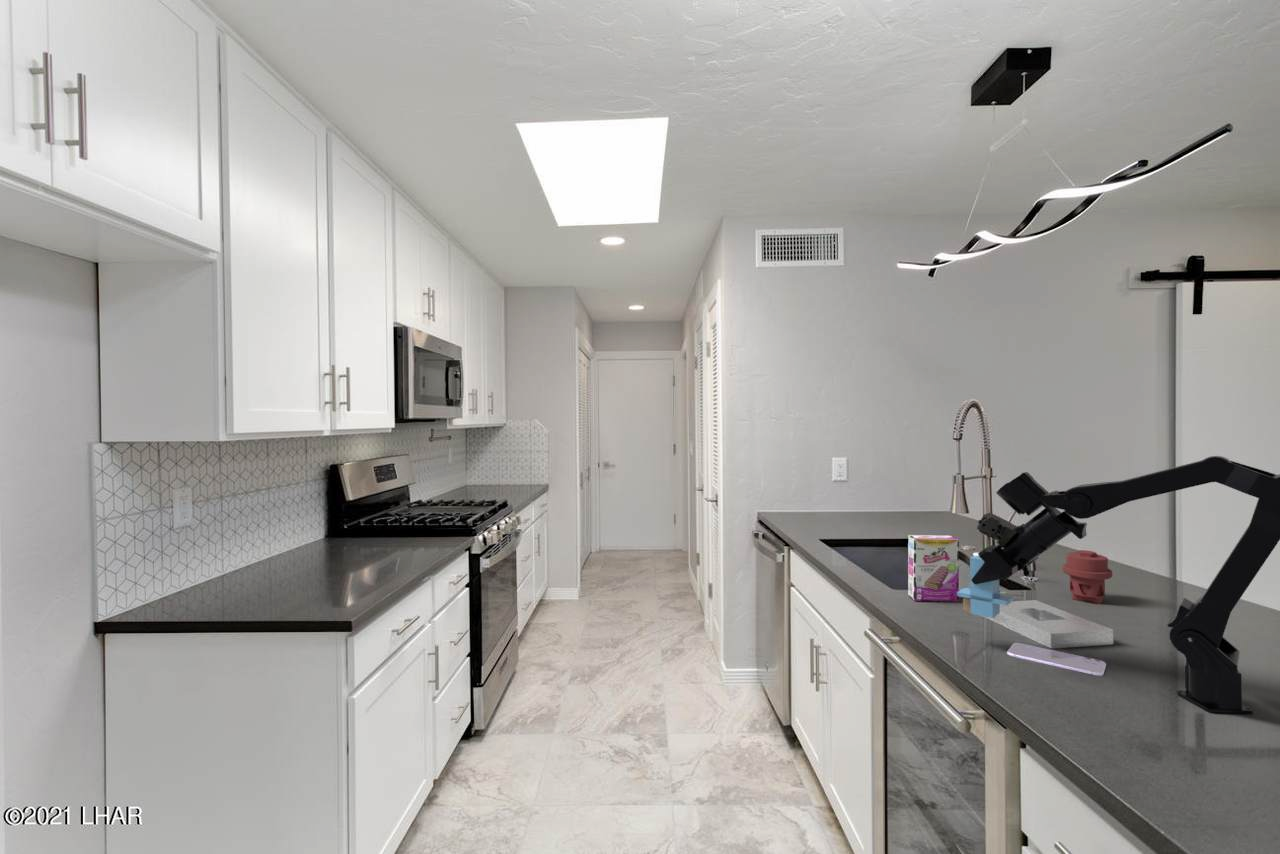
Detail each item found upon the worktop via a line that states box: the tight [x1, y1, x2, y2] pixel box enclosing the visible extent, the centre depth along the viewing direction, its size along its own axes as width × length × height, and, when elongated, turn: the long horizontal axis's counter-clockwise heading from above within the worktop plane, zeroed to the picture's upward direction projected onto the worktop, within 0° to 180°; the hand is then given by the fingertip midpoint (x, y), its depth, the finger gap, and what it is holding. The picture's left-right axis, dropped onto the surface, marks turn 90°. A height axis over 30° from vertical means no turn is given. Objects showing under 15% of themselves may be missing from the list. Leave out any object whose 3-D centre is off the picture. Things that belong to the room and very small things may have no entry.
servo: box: [957, 552, 1015, 618], centre depth 117 cm, size 9×4×12 cm, turn 42°
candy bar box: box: [907, 534, 960, 603], centre depth 148 cm, size 11×5×16 cm, turn 84°
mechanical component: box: [1062, 549, 1113, 605], centre depth 146 cm, size 12×10×10 cm
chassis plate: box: [982, 599, 1114, 650], centre depth 126 cm, size 20×14×3 cm
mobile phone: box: [1006, 642, 1107, 677], centre depth 111 cm, size 8×1×15 cm
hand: (977, 580), depth 118 cm, fingers closed on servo, 4 cm apart
